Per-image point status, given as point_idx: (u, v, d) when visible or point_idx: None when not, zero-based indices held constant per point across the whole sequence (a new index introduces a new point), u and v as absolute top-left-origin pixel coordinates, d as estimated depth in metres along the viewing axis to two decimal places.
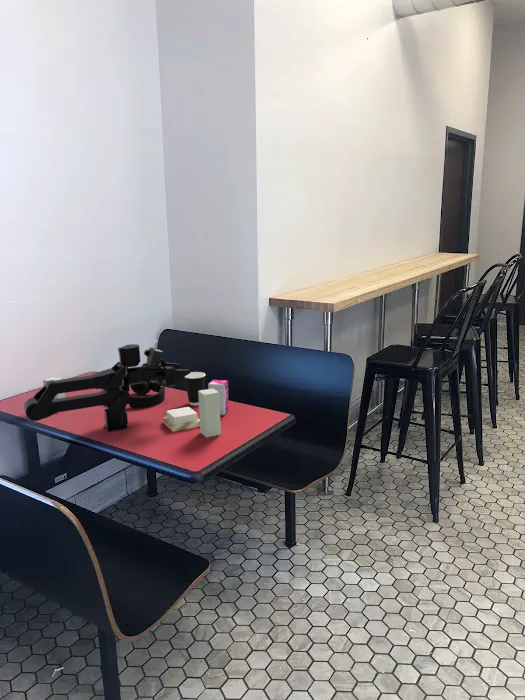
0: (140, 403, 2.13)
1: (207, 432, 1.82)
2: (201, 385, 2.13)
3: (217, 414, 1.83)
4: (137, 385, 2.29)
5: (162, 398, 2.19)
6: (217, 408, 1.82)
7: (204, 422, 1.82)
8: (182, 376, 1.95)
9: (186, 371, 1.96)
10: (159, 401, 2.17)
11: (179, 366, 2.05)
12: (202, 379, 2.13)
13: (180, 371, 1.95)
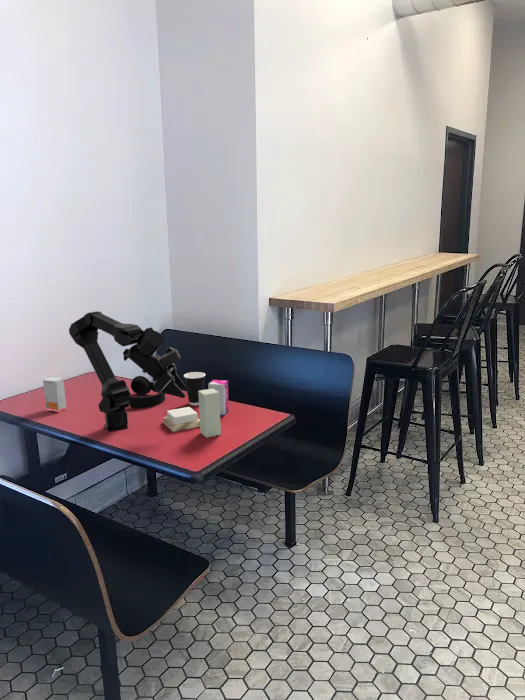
0: (140, 403, 2.13)
1: (207, 432, 1.82)
2: (201, 385, 2.13)
3: (217, 414, 1.83)
4: (137, 385, 2.29)
5: (162, 398, 2.19)
6: (217, 408, 1.82)
7: (204, 422, 1.82)
8: (174, 393, 1.76)
9: (181, 393, 1.77)
10: (159, 401, 2.17)
11: (183, 387, 1.87)
12: (202, 379, 2.13)
13: (176, 388, 1.76)
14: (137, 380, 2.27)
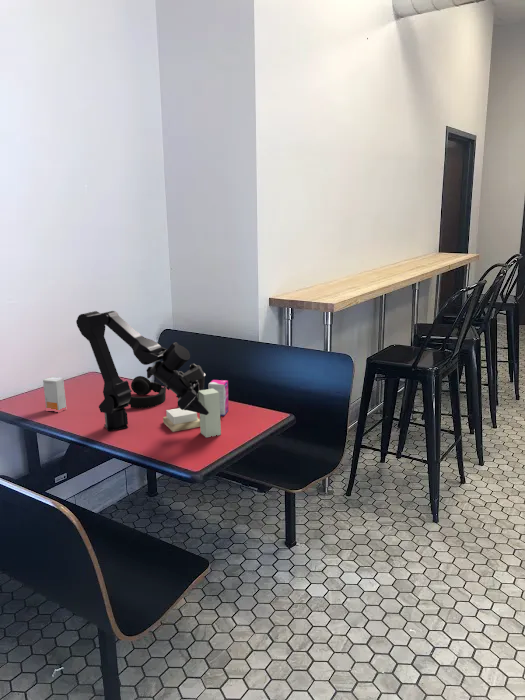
0: (141, 403, 2.12)
1: (207, 432, 1.82)
2: (201, 385, 2.13)
3: (217, 414, 1.83)
4: (138, 386, 2.29)
5: (163, 398, 2.19)
6: (217, 408, 1.82)
7: (204, 422, 1.82)
8: (197, 410, 1.78)
9: (204, 410, 1.78)
10: (160, 402, 2.17)
11: None
12: (202, 379, 2.13)
13: (200, 405, 1.77)
14: (137, 380, 2.26)
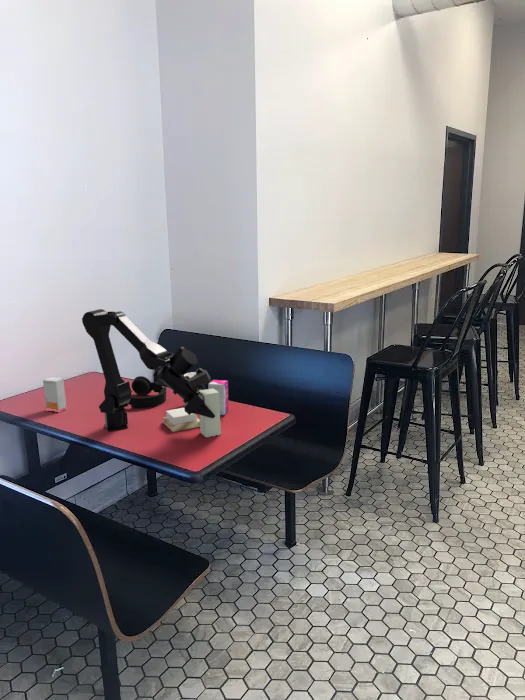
0: (142, 404, 2.12)
1: (207, 432, 1.82)
2: None
3: (217, 414, 1.83)
4: (138, 386, 2.28)
5: (164, 399, 2.18)
6: (217, 408, 1.82)
7: (204, 422, 1.82)
8: (204, 414, 1.80)
9: (211, 413, 1.80)
10: (160, 402, 2.16)
11: None
12: None
13: (206, 408, 1.79)
14: (138, 380, 2.26)
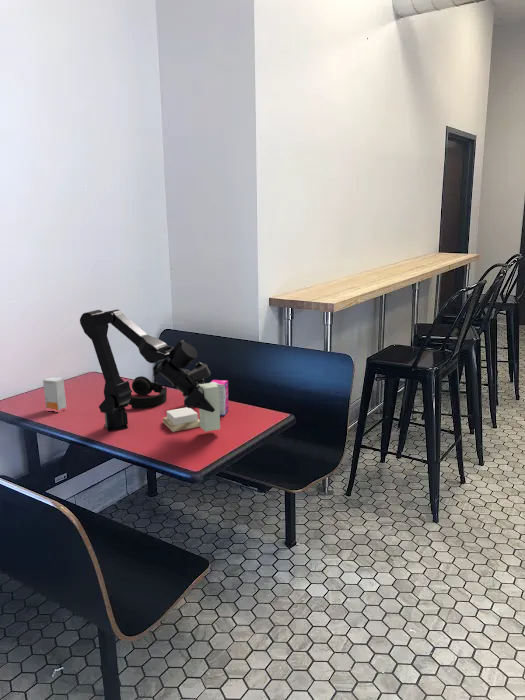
0: (142, 404, 2.12)
1: (206, 426, 1.82)
2: None
3: (216, 408, 1.82)
4: (139, 386, 2.28)
5: (164, 399, 2.18)
6: (216, 402, 1.82)
7: (203, 416, 1.82)
8: (203, 408, 1.79)
9: (210, 407, 1.80)
10: (161, 402, 2.16)
11: None
12: None
13: (206, 402, 1.79)
14: (138, 381, 2.26)
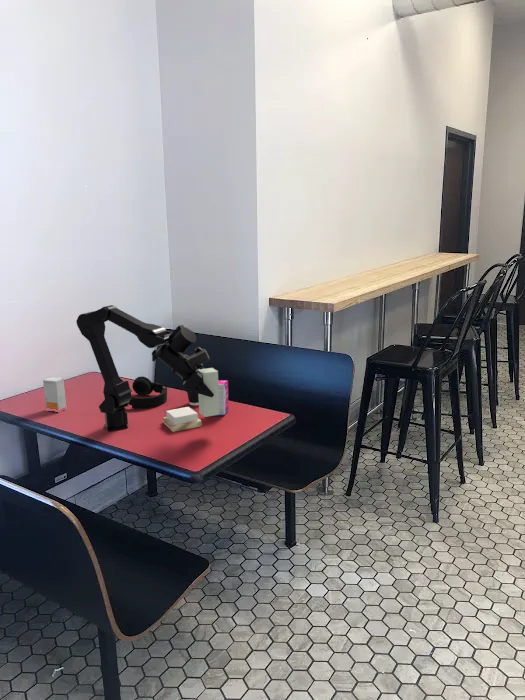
0: (142, 404, 2.12)
1: (205, 411, 1.81)
2: None
3: (216, 393, 1.81)
4: (139, 386, 2.28)
5: (164, 399, 2.18)
6: (216, 387, 1.81)
7: (202, 401, 1.81)
8: (203, 393, 1.78)
9: (210, 392, 1.79)
10: (161, 402, 2.16)
11: None
12: None
13: (205, 387, 1.78)
14: (139, 381, 2.26)
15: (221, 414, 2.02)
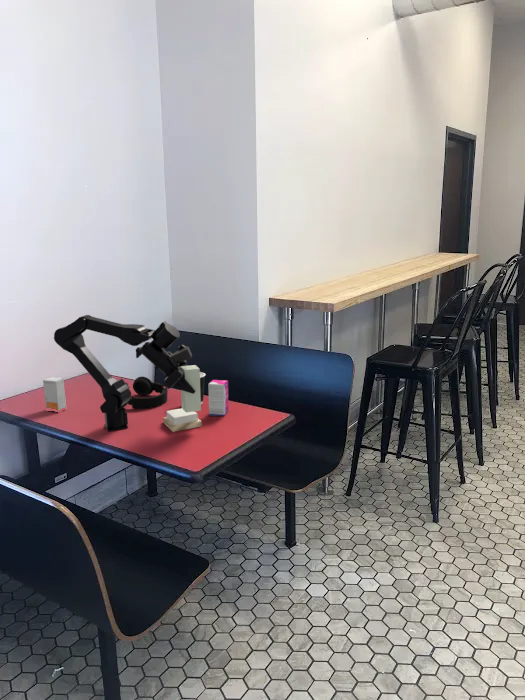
0: (143, 404, 2.12)
1: (187, 407, 1.86)
2: (201, 385, 2.13)
3: (197, 390, 1.86)
4: (140, 386, 2.28)
5: (165, 399, 2.18)
6: (197, 384, 1.86)
7: (184, 397, 1.86)
8: (184, 389, 1.84)
9: (191, 389, 1.84)
10: (161, 402, 2.16)
11: None
12: (202, 379, 2.13)
13: (186, 383, 1.83)
14: (139, 381, 2.26)
15: (221, 414, 2.02)
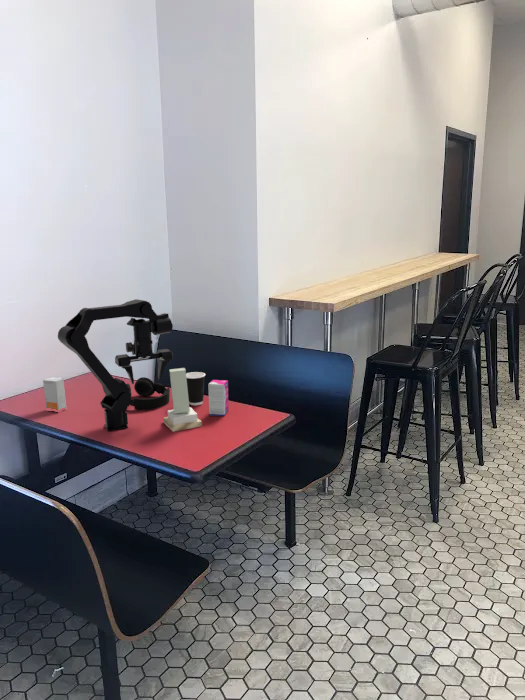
0: (145, 405, 2.10)
1: (175, 408, 1.91)
2: (201, 385, 2.13)
3: (185, 391, 1.91)
4: (141, 387, 2.27)
5: (167, 400, 2.17)
6: (184, 385, 1.91)
7: (172, 399, 1.92)
8: None
9: None
10: (164, 403, 2.15)
11: None
12: (202, 379, 2.13)
13: None
14: (141, 382, 2.24)
15: (221, 414, 2.02)
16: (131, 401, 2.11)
